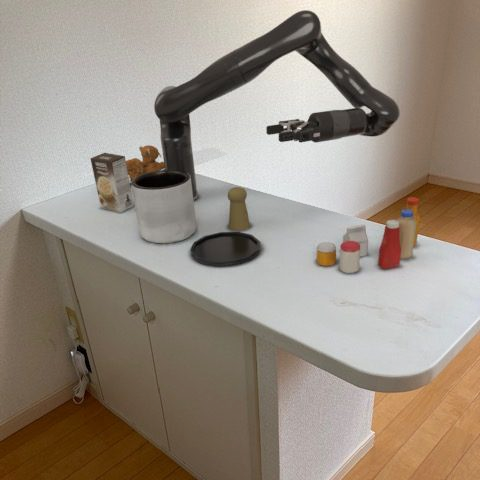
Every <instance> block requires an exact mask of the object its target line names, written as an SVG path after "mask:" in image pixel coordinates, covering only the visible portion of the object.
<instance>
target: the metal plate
mask: <svg viewBox="0 0 480 480" xmlns="http://www.w3.org/2000/svg"><path fill="white" fill-rule="evenodd" d="M261 250H262V247H261V241H260V240H259V239H258V238H257V237H255V236H254V235H253V234H250V233H246V232H242V231H220V232H215V233H211V234H206V235H204V236H202V237H200V238H199V239H197V240H195V241H194V242H193V243H192V245H191V247H190V256H191V258H192V260H194V261H195V262H197V264H201V265H203V266H208V267H215V268H226V267H234V266H235V267H236V266H239V265H243V264H246V263H248V262H250V261H252V260H254V259H256V258H257V257H258V256H259V255H260V253H261Z"/></svg>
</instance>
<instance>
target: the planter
mask: <svg viewBox="0 0 480 480" xmlns="http://www.w3.org/2000/svg"><path fill="white" fill-rule="evenodd" d="M130 183H131V186H130V187H131V193H132V198H133V204H134V208H135V215H136V222H137V227H138V231H139V234H140V237H141V238H142V239H144V240H146V241H148V242H150V243H155V244H172V243H173V244H174V243H177V242H180V241H181V242H182V241H185V240H186V239H188V238H189V237H191V236H192V235H193V234H194V233H195V232H196V231H197V229H198V223H197V216H196V207H195V200H193V192H192V184H191V176H190V175H189V174H188V173H186V172H183V171H179V170H163V169H162V170H159V171H153V172H148V173H145V174H142V175H140V176H137V177H136V178H134V179H133V180H132V182H131V181H130Z"/></svg>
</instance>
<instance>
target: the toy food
mask: <svg viewBox="0 0 480 480" xmlns="http://www.w3.org/2000/svg"><path fill="white" fill-rule="evenodd" d="M419 203H420V199H419V198H418V197H415V196H410V197H407V198H406V207H405V209H402V210H400V216H399V217H397V219H388V220H387V221H386V223H385V226H384V231H383V235H382V240H381V244H380V246H379V249H378V260H377V262H378V263H377V264H378V266H379V267H380V268H381V270H382V269H383V270H387V269H393V268H397V267H399V266H400V263H401V260H406V259H410V258H411V257H412V256H413V254H414V247H415V246H416V245H417V244H418V243H417V242H418V234H419V228H420V221H421V216H420V214H419V213H418V208H419V207H418V206H419ZM366 227H367V226H366V224H358V225H352V226H347V227H346V232H345V233H344V234H343V236H342V243H341V244H340V245H339V247H340V249H339V251H340V252H339V267H338V268H339V270H340V271H341V272H343V273H346V274H354V273H357V272H358V271H359V270H360V261H361V260H360V259H361V257H365V256H367V255H368V251H369V250H368V249H369V237H368V234H367V230H366V229H367V228H366ZM336 262H337V246H336V245H335V244H334V243H333V242H330V241H324V242H320V243H318V244H317V246H316V263H317V264H318V265H319V266H322V267H328V266H333V265H335V264H336Z"/></svg>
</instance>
